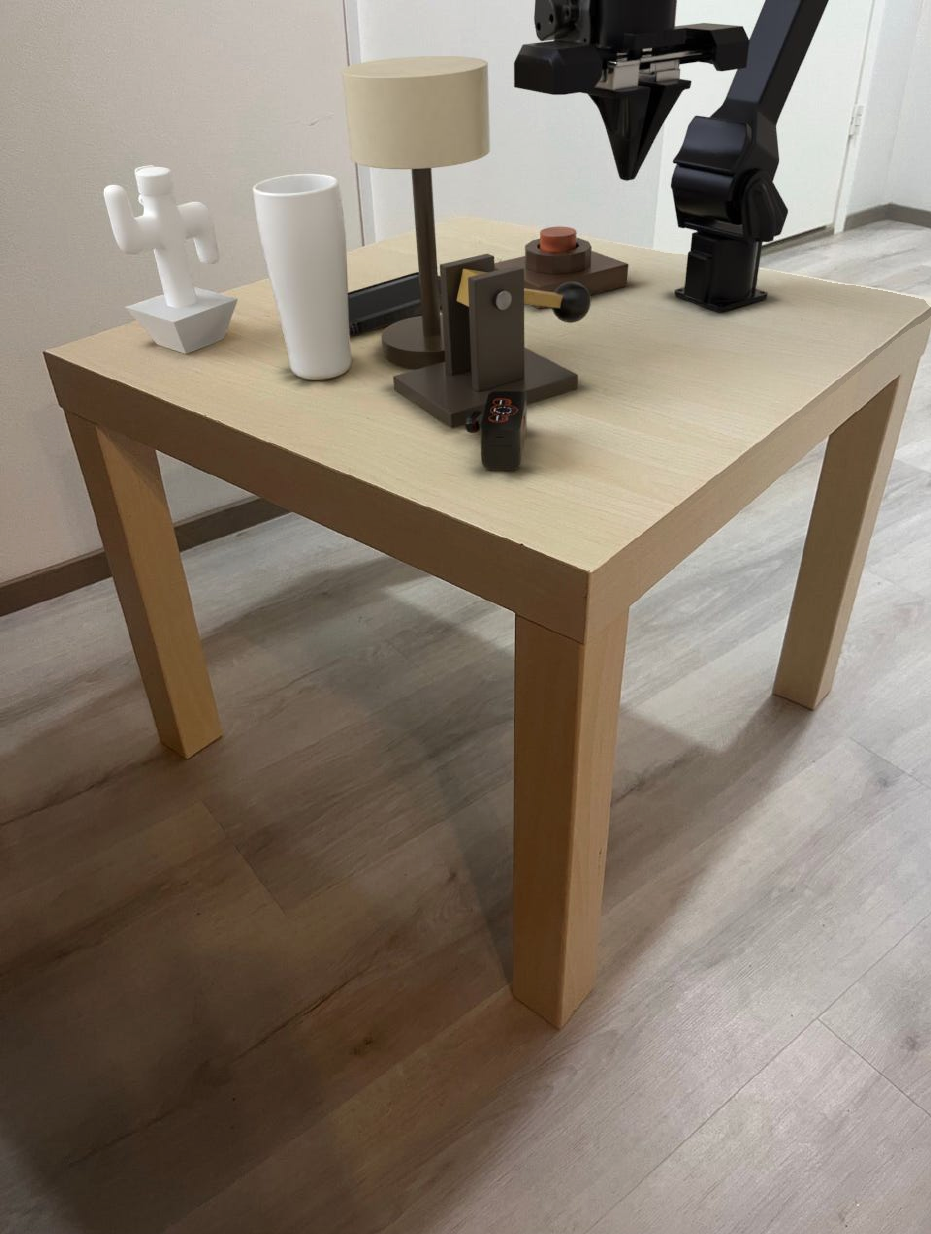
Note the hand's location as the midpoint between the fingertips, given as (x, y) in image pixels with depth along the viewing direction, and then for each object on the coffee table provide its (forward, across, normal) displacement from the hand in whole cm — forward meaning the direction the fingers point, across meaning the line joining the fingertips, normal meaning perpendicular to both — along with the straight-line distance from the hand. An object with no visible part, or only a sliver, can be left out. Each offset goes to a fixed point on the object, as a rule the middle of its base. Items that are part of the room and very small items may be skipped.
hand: (627, 179), depth 76 cm
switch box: (+13, -4, -14) cm, 20 cm away
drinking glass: (+13, +25, -9) cm, 30 cm away
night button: (+9, -4, -14) cm, 18 cm away
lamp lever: (+8, +12, +3) cm, 15 cm away
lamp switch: (+13, +16, +3) cm, 21 cm away
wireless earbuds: (+13, +21, +12) cm, 27 cm away
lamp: (+13, +15, -7) cm, 21 cm away
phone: (+13, +14, -19) cm, 27 cm away
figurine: (+13, +33, -23) cm, 42 cm away
